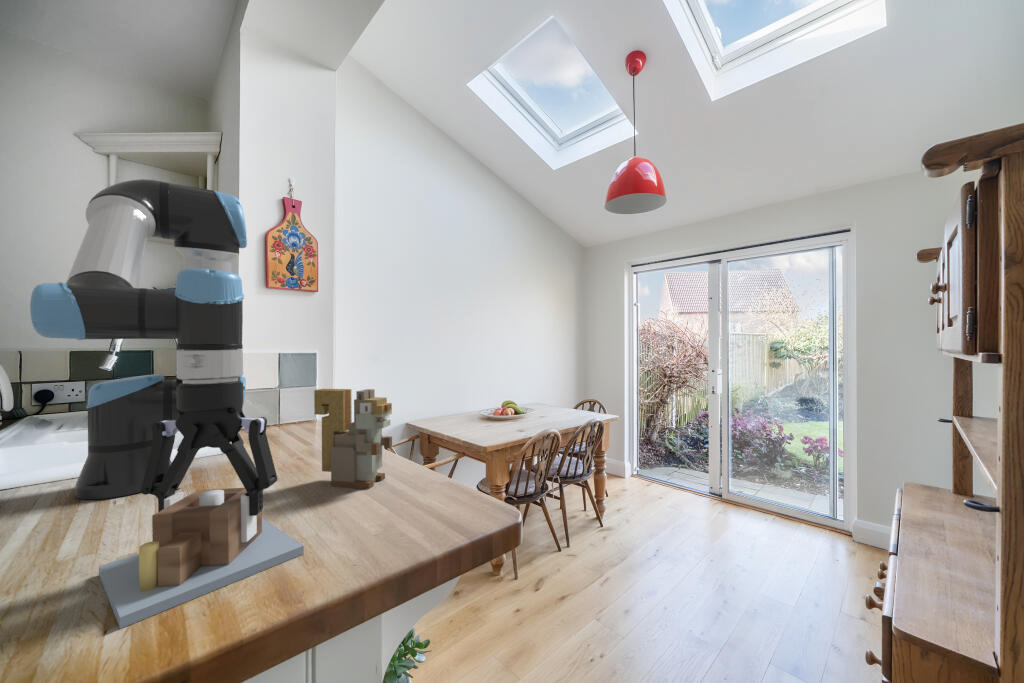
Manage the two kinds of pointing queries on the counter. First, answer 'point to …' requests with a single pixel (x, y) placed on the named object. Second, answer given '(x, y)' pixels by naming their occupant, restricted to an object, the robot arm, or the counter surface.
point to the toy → (353, 436)
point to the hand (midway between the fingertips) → (212, 539)
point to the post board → (137, 576)
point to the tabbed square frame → (198, 535)
